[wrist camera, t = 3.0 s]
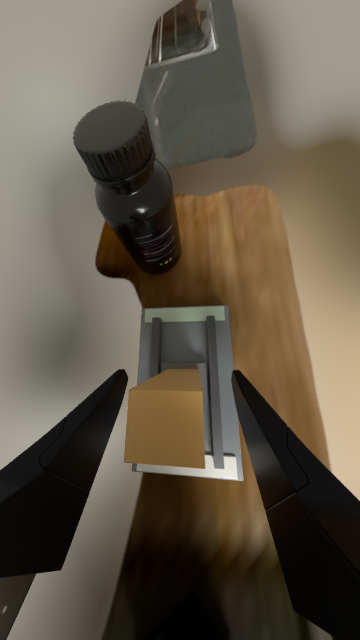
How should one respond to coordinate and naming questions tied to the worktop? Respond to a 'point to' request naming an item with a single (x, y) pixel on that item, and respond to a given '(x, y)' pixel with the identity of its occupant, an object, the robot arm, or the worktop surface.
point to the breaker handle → (168, 417)
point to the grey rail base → (216, 351)
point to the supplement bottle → (131, 183)
